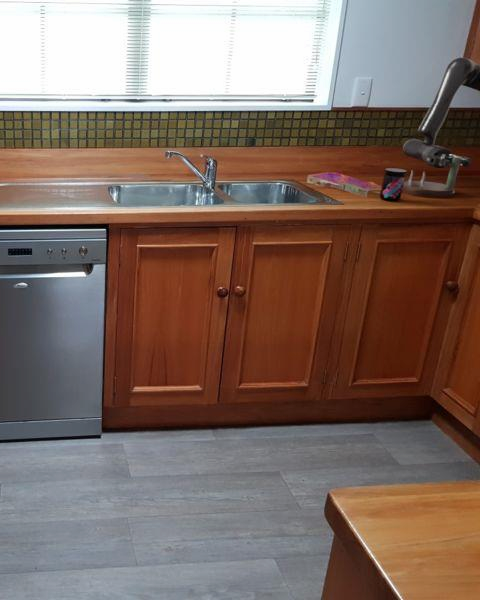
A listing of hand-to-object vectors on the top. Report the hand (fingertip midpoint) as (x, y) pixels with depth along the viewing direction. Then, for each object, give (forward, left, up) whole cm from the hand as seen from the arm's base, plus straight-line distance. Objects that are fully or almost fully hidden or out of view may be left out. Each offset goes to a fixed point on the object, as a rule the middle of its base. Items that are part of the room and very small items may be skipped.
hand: (458, 164), depth 217 cm
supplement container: (+20, +18, -12) cm, 29 cm away
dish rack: (+8, -2, -10) cm, 13 cm away
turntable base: (+8, -2, -12) cm, 14 cm away
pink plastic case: (+35, +6, -12) cm, 37 cm away
